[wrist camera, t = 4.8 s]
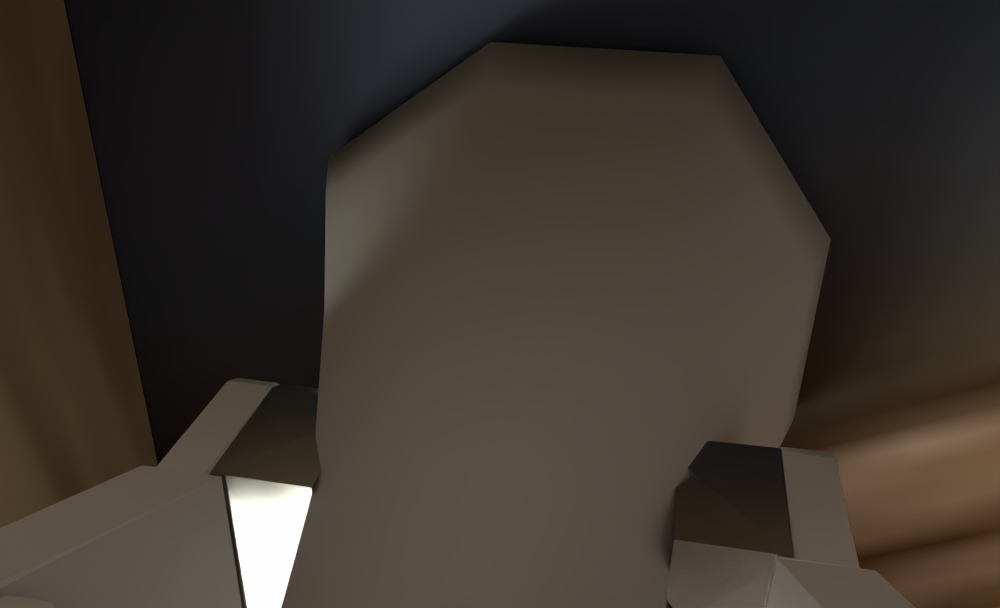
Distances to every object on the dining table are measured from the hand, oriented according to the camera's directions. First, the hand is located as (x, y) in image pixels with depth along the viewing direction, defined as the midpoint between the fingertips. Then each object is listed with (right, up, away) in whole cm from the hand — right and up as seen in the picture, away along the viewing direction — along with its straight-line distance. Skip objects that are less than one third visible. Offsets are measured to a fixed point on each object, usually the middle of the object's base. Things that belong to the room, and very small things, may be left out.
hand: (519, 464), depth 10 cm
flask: (+1, +2, +4) cm, 4 cm away
